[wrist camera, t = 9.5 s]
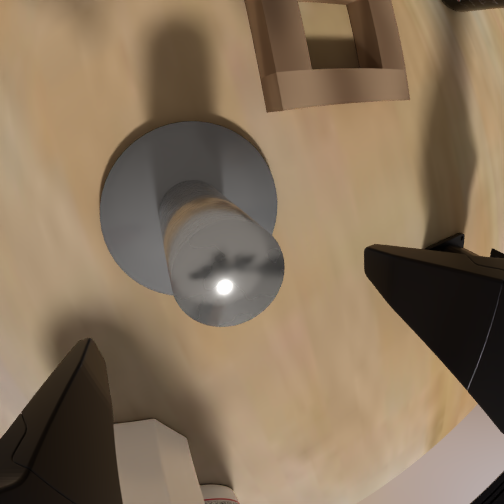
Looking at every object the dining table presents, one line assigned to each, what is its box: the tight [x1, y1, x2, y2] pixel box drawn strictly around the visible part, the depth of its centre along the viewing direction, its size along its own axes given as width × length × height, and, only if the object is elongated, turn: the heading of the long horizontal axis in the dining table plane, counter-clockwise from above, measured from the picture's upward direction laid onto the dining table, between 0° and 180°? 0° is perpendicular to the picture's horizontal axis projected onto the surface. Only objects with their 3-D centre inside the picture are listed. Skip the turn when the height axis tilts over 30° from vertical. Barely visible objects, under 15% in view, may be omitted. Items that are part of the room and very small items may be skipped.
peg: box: [159, 180, 284, 327], centre depth 15 cm, size 4×4×9 cm
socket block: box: [245, 0, 410, 112], centre depth 16 cm, size 10×10×2 cm
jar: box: [113, 419, 205, 504], centre depth 20 cm, size 9×8×12 cm
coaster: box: [100, 121, 277, 295], centre depth 19 cm, size 11×11×1 cm
